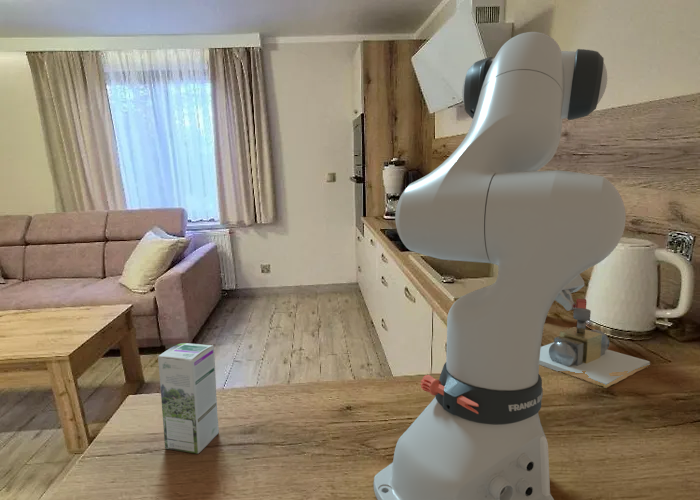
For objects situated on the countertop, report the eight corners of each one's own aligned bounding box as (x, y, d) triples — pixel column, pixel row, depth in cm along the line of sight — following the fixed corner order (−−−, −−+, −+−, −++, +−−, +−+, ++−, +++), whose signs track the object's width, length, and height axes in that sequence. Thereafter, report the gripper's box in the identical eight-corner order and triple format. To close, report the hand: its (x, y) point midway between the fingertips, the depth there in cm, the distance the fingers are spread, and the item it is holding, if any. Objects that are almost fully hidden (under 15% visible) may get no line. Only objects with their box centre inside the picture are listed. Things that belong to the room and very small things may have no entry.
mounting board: (606, 388, 75) (606, 383, 75) (520, 358, 90) (521, 353, 90) (649, 365, 86) (650, 361, 85) (566, 341, 101) (566, 337, 100)
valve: (574, 371, 82) (576, 330, 81) (546, 361, 87) (548, 323, 86) (610, 355, 90) (613, 318, 89) (583, 347, 95) (585, 312, 94)
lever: (573, 320, 87) (573, 310, 87) (573, 306, 98) (573, 298, 98) (590, 322, 86) (591, 312, 85) (588, 308, 96) (588, 299, 96)
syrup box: (220, 432, 62) (215, 343, 60) (197, 456, 56) (192, 358, 55) (188, 428, 63) (182, 340, 62) (162, 450, 58) (156, 354, 56)
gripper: (520, 258, 94) (557, 307, 87) (567, 253, 105) (604, 296, 98) (502, 273, 98) (537, 322, 91) (550, 267, 109) (584, 310, 102)
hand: (572, 308), depth 94 cm, fingers closed
